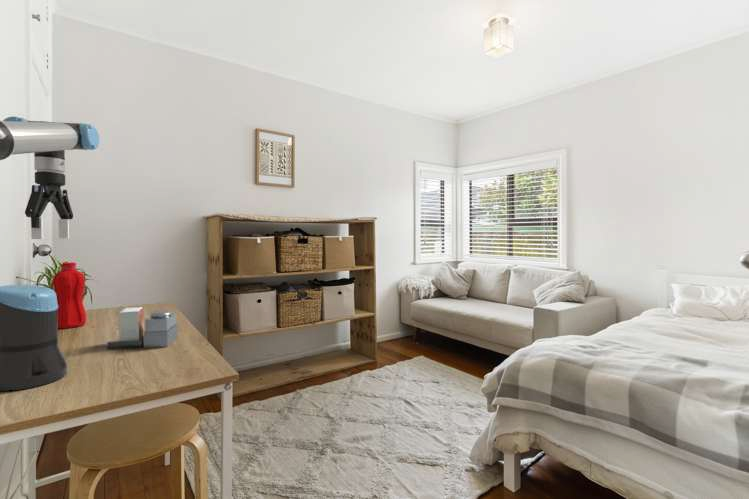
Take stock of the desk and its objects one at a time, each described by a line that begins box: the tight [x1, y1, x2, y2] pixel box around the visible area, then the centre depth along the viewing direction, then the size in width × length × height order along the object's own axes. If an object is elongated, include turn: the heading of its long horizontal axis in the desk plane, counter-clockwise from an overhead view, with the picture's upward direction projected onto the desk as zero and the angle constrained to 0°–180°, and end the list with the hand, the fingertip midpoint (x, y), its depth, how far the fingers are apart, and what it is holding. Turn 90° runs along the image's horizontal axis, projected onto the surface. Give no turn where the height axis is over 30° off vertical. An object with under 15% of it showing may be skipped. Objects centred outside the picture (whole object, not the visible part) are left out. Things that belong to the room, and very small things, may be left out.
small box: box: [118, 306, 145, 341], centre depth 127 cm, size 8×6×10 cm
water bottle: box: [52, 261, 87, 330], centre depth 150 cm, size 9×11×25 cm
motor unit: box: [106, 310, 179, 350], centre depth 128 cm, size 11×18×10 cm, turn 101°
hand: (51, 238), depth 124 cm, fingers open, 13 cm apart
